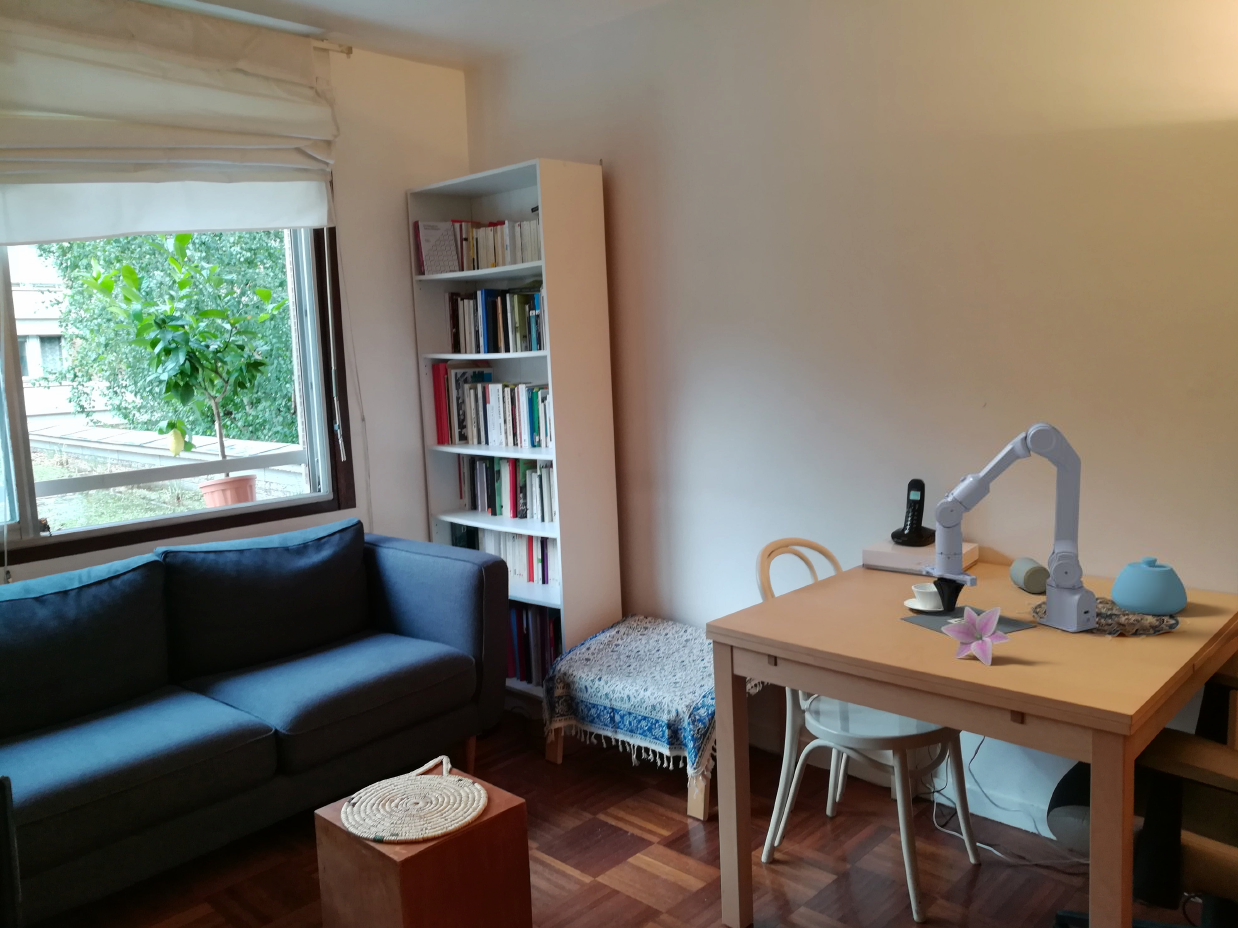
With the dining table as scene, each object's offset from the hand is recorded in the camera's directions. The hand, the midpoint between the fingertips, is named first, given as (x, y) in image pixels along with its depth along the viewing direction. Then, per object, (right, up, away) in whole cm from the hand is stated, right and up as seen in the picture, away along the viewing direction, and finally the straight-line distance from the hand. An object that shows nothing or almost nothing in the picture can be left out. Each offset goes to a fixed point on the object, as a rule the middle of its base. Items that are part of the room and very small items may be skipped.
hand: (949, 610), depth 208 cm
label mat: (+2, -2, -5) cm, 5 cm away
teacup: (-2, -1, +7) cm, 7 cm away
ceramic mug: (+29, +2, +20) cm, 35 cm away
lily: (-4, -5, -27) cm, 28 cm away
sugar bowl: (+46, 0, +1) cm, 46 cm away
